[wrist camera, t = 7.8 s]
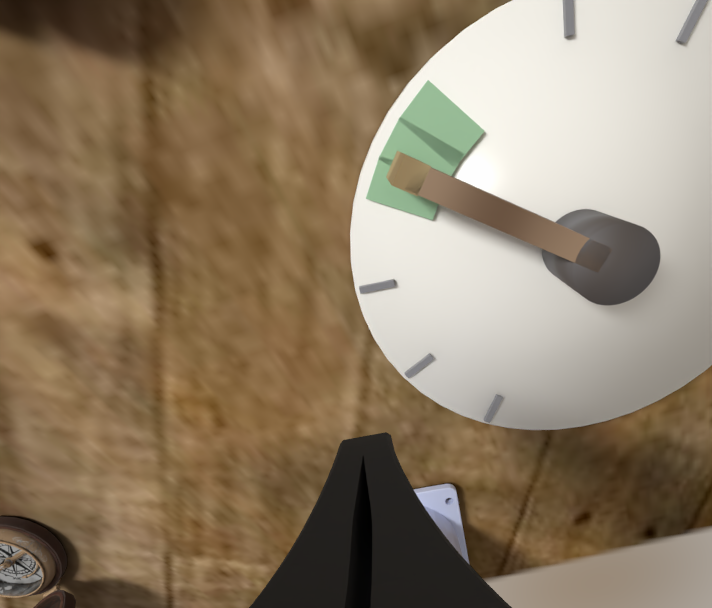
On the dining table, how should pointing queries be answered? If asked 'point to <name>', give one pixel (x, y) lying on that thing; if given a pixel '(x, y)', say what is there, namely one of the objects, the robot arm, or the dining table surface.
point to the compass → (32, 563)
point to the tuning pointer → (549, 234)
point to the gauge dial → (546, 211)
